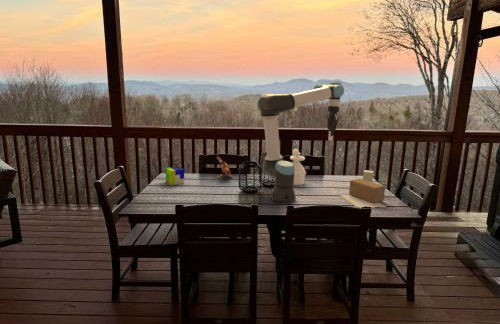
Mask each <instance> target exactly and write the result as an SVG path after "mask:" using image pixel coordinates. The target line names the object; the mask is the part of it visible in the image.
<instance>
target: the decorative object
mask: <svg viewBox="0 0 500 324" xmlns="http://www.w3.org/2000/svg"><path fill="white" fill-rule="evenodd" d="M292 153H293V155H291V156H290V157H289V158H290V160H291V161H292V162H291V163H293V164H294V167H295V172H294V186H302V185H304V184H305V177H306V175H307V171H306V170H305V168H304V167H303V164H302V163H301V161H302V162H303V161H305V160H306V157H305V156H303V155H301V154H302V153H301V152H300V151H299V149H297V148H294V149H293V150H292Z"/></svg>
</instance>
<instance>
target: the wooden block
mask: <svg viewBox="0 0 500 324" xmlns="http://www.w3.org/2000/svg"><path fill="white" fill-rule="evenodd" d="M349 181H350V182H349V192H348V195H352V196H355V197H358V198H361V199H364V200H366V201H369V202H372V203H376V202H379V203H381V202H383V201H384V200H385V192H386V191H385V190H386V186H385V185H383V184H379V183H376V182H373V181H372V182H370V181H366V180H363V178H356V179H352V180H351V179H350V180H349Z"/></svg>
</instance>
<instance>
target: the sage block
mask: <svg viewBox="0 0 500 324" xmlns="http://www.w3.org/2000/svg"><path fill="white" fill-rule="evenodd" d="M373 177H374V170H368V169H364V170H363V175H362V179H363V180H366V181H370V182H373Z"/></svg>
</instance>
